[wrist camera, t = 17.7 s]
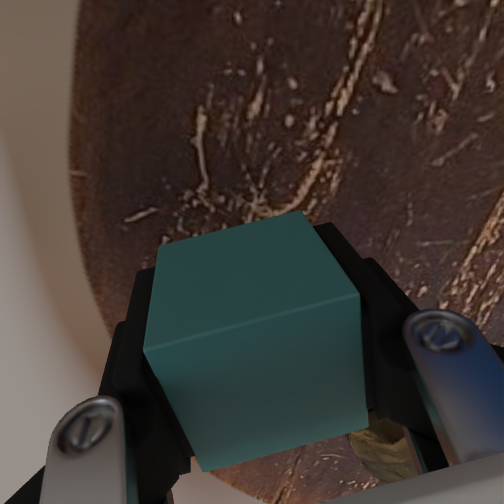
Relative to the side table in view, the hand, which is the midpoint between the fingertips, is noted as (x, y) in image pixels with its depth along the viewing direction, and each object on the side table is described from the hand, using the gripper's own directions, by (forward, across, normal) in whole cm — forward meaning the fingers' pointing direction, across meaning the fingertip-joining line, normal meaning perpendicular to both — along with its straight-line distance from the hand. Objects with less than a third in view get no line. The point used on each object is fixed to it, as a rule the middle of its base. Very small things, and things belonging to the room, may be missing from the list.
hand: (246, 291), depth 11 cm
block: (0, 0, 0) cm, 0 cm away
